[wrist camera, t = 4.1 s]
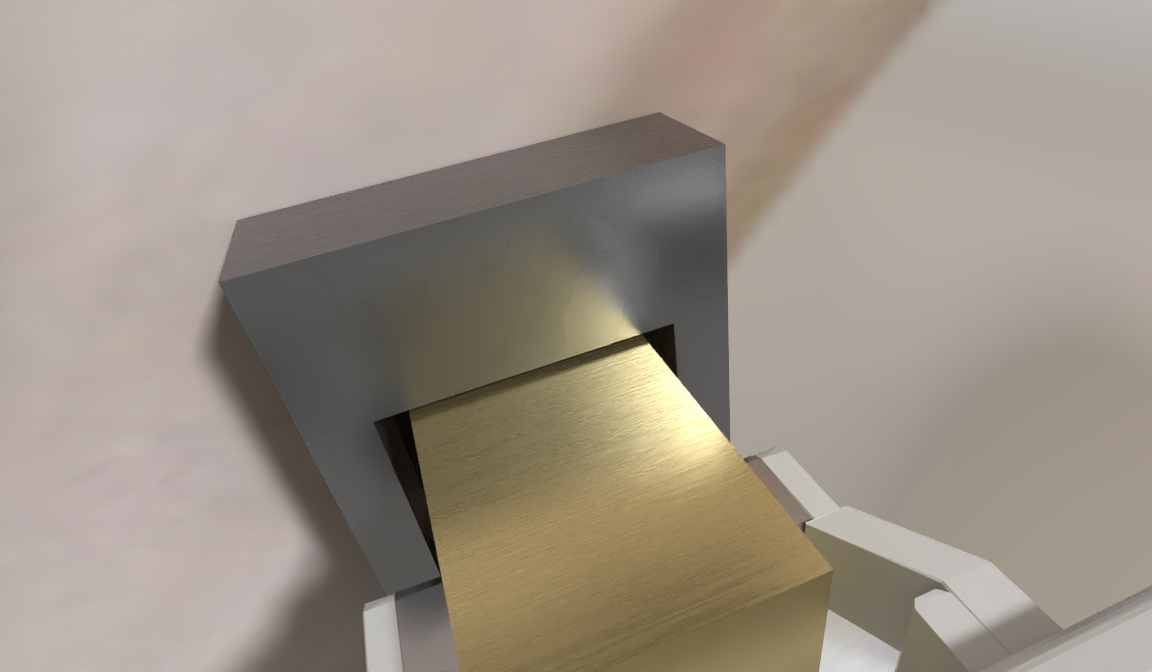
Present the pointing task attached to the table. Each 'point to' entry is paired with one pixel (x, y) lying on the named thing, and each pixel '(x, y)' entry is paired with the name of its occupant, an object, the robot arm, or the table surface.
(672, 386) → the tan block
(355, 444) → the plate
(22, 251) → the table surface
